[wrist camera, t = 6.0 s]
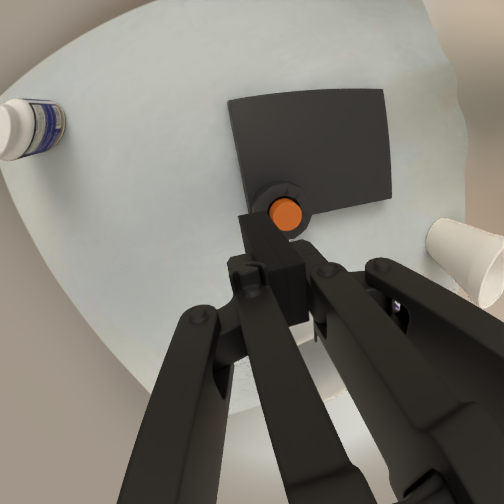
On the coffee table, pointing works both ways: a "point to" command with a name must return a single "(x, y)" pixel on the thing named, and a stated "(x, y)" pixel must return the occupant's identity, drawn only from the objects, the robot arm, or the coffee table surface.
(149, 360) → the coffee table surface
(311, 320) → the mug
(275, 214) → the button
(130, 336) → the coffee table surface
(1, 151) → the pill bottle
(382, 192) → the scale
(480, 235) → the foam cup
